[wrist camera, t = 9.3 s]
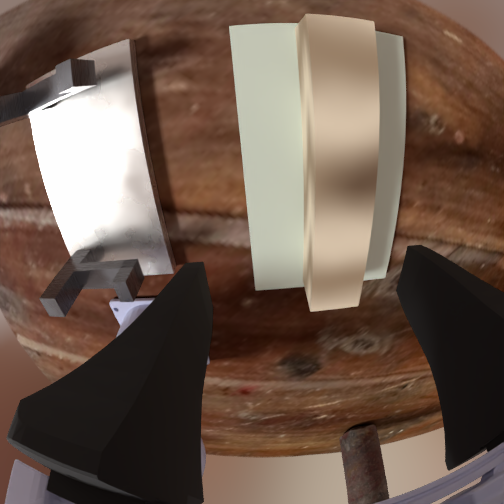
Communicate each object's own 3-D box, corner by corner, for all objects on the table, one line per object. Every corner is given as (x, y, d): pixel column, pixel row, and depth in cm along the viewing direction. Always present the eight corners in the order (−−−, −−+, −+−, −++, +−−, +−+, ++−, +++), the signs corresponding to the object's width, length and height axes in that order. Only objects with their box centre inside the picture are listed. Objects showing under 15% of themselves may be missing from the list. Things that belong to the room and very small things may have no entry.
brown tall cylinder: (334, 438, 45) (346, 524, 28) (341, 426, 41) (357, 523, 24) (369, 431, 45) (385, 513, 28) (379, 418, 41) (400, 510, 24)
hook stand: (176, 265, 22) (154, 332, 16) (85, 271, 22) (50, 327, 16) (134, 40, 12) (76, 23, 7) (33, 84, 13) (-33, 98, 7)
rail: (345, 276, 22) (358, 306, 19) (302, 280, 22) (310, 311, 19) (351, 32, 12) (374, 21, 9) (294, 28, 12) (306, 13, 9)
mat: (382, 273, 22) (385, 277, 22) (255, 285, 23) (255, 290, 22) (398, 37, 12) (402, 36, 12) (229, 28, 13) (229, 26, 12)
